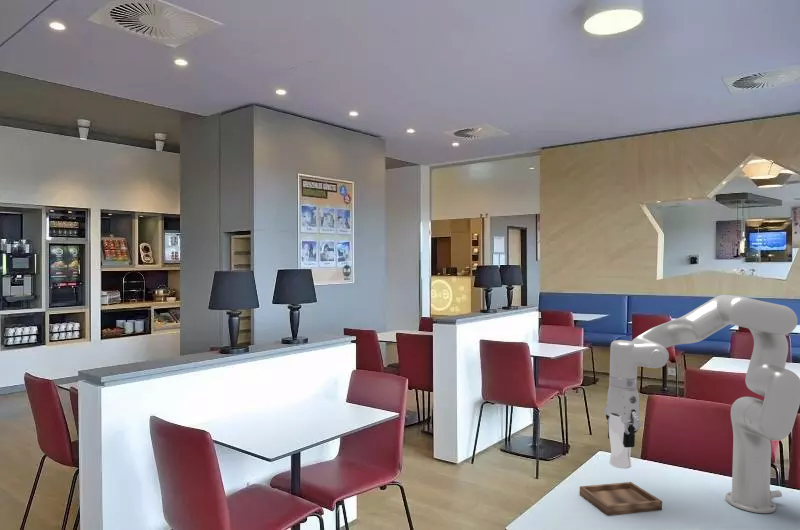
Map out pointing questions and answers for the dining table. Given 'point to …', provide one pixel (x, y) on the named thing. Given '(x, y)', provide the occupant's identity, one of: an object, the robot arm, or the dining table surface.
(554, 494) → the dining table surface
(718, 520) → the dining table surface
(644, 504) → the walnut tray
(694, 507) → the dining table surface
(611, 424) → the beer glass
